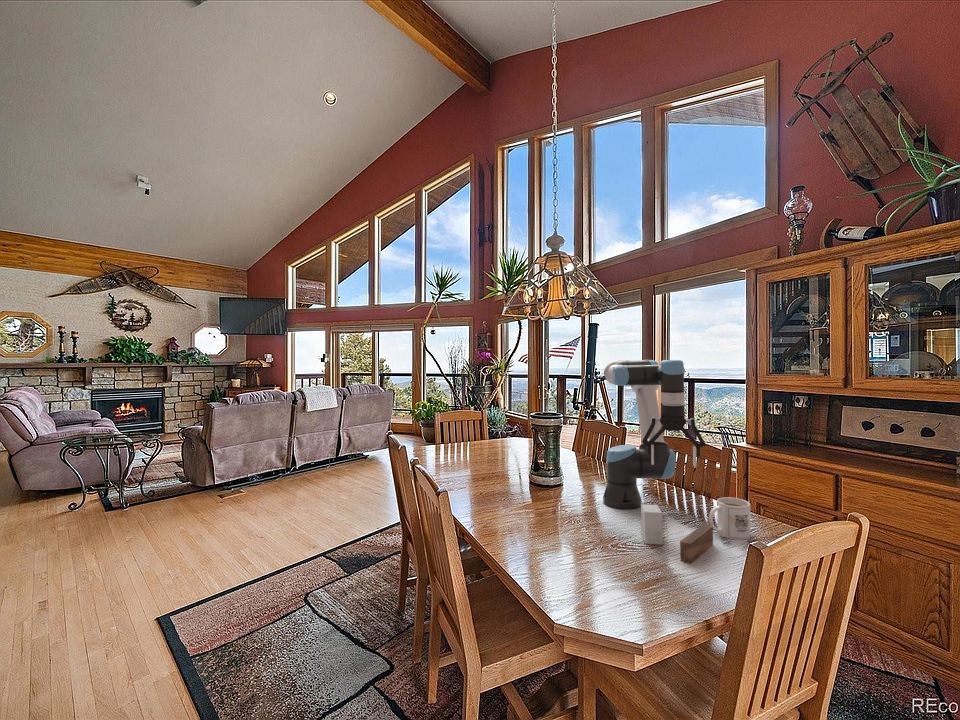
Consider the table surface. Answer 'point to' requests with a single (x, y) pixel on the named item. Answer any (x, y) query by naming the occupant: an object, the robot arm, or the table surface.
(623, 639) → the table surface
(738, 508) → the mug
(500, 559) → the table surface
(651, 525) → the small box
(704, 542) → the board
